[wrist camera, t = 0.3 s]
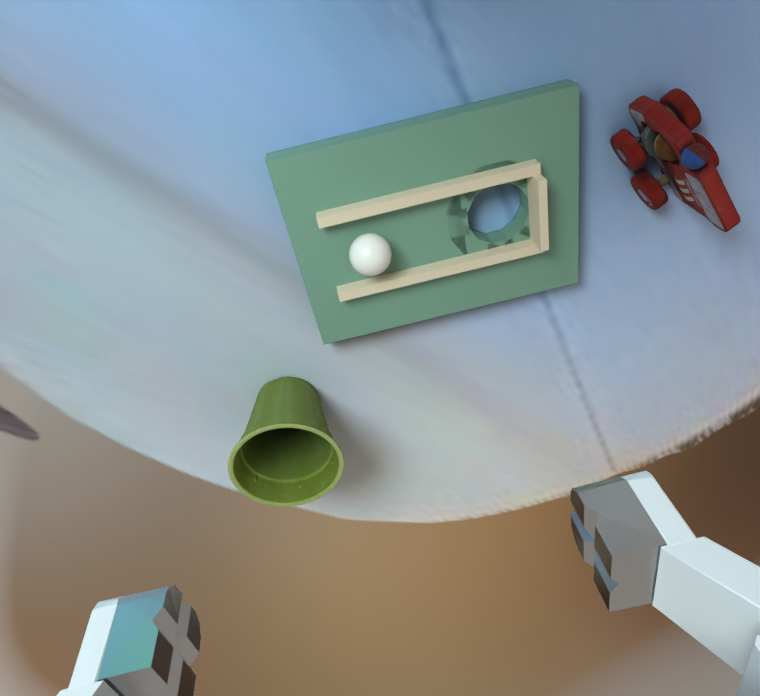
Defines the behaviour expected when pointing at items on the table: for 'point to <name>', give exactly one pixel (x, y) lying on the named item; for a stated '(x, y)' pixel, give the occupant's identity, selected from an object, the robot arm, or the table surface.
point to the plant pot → (286, 447)
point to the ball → (370, 254)
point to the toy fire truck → (675, 158)
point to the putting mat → (435, 210)
